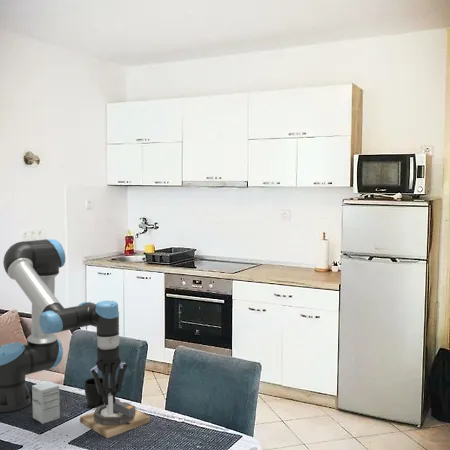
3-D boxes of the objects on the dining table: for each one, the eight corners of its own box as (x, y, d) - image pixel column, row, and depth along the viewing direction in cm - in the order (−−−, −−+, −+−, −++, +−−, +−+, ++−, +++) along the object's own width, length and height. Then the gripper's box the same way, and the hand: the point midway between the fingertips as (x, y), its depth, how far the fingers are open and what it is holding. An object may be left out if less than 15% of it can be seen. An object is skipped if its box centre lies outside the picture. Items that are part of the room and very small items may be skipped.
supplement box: (32, 418, 201) (31, 385, 200) (50, 412, 207) (49, 380, 206) (42, 424, 196) (40, 390, 195) (60, 418, 202) (59, 384, 201)
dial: (95, 416, 198) (95, 400, 197) (118, 407, 205) (118, 392, 204) (119, 429, 187) (118, 412, 187) (142, 420, 194) (142, 403, 194)
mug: (103, 412, 206) (102, 388, 205) (80, 406, 212) (79, 382, 212) (118, 405, 213) (117, 381, 212) (95, 399, 219) (95, 376, 219)
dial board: (80, 422, 198) (79, 410, 198) (121, 407, 211) (121, 396, 210) (107, 438, 185) (107, 425, 185) (150, 421, 198) (149, 409, 198)
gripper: (92, 352, 181) (94, 421, 182) (130, 346, 187) (131, 412, 189) (86, 346, 187) (88, 413, 189) (122, 340, 194) (124, 405, 195)
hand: (109, 413), depth 189 cm, fingers closed
